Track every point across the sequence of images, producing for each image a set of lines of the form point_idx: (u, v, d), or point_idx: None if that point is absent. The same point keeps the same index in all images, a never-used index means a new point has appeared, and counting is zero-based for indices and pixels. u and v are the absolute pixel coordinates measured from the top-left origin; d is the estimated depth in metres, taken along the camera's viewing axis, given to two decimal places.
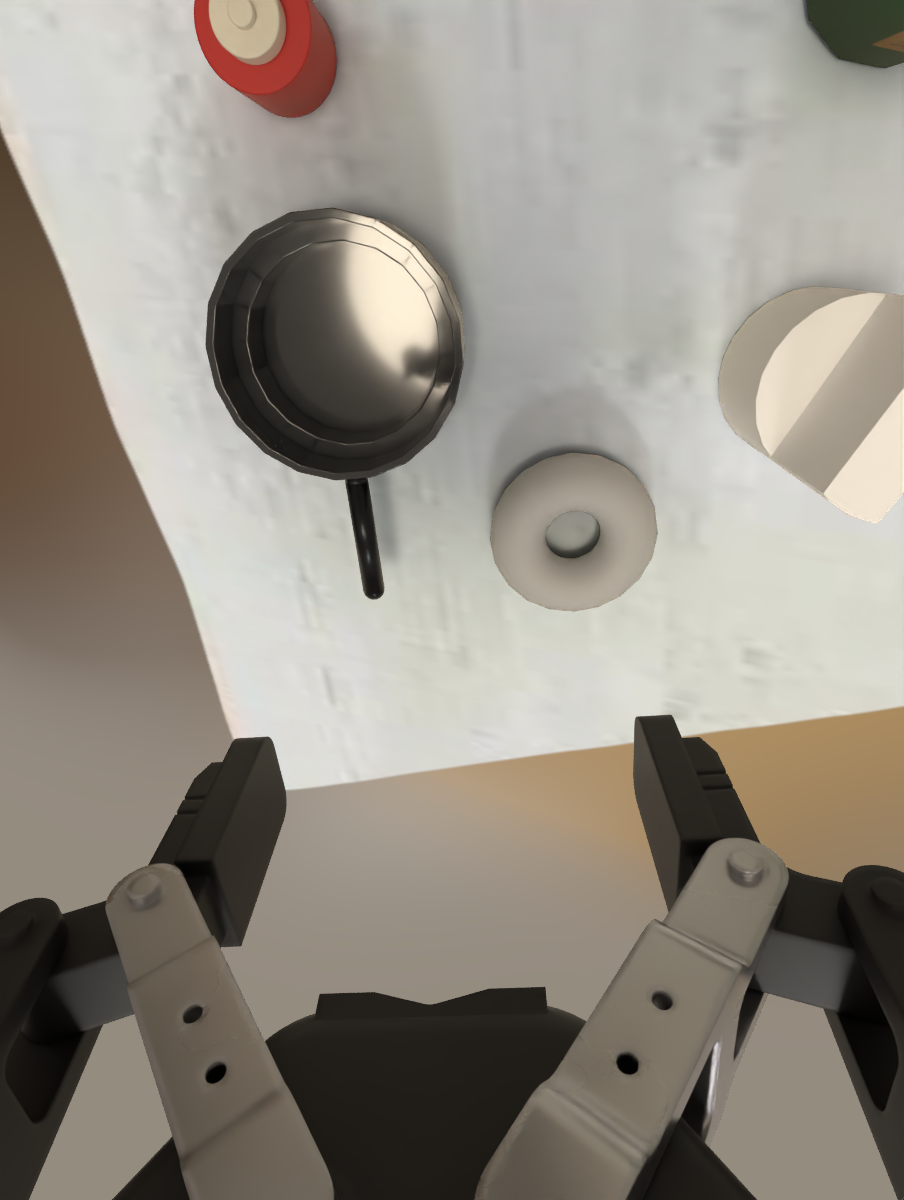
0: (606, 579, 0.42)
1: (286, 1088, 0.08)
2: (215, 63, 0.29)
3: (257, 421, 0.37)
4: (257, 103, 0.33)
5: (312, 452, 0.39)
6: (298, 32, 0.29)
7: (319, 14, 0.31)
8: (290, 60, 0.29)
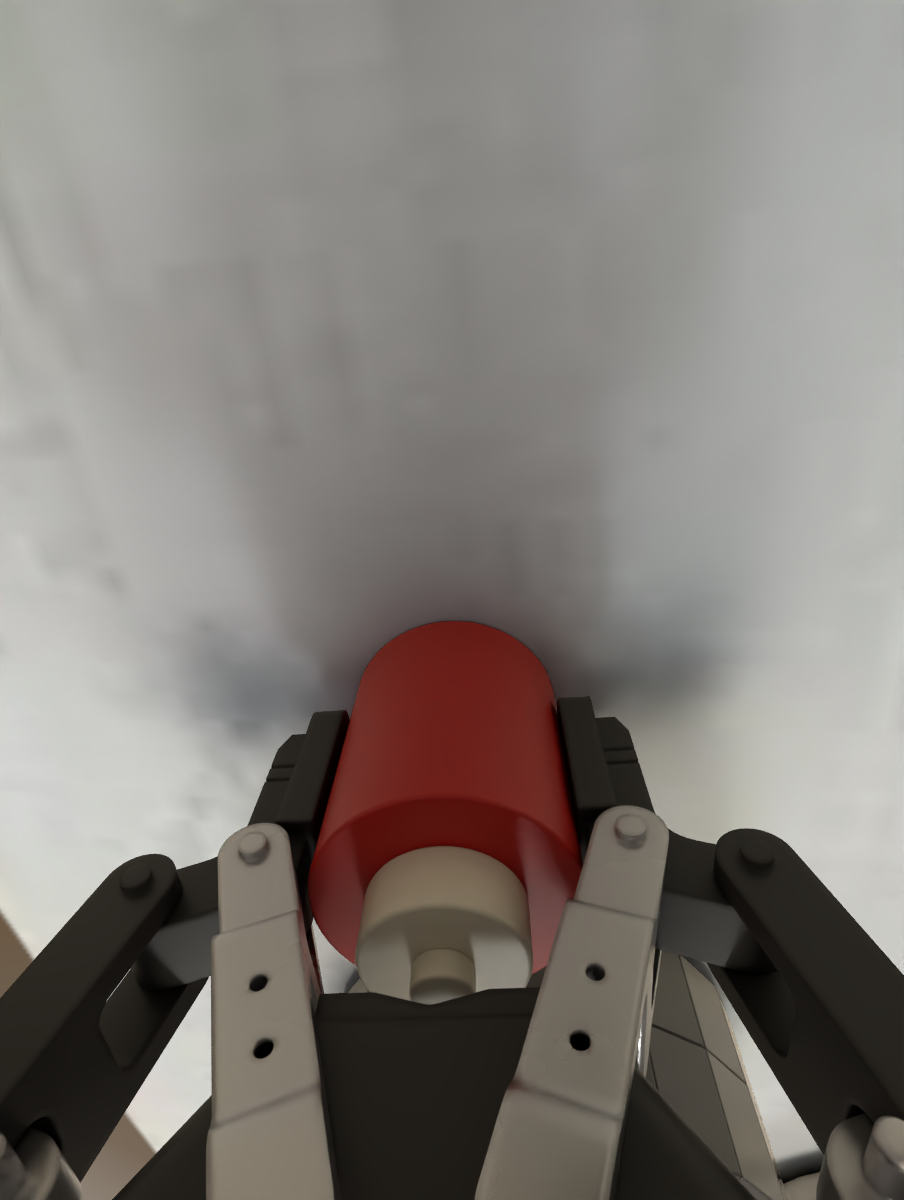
0: None
1: (318, 1087, 0.08)
2: (351, 953, 0.13)
3: None
4: None
5: None
6: (554, 919, 0.12)
7: (557, 737, 0.14)
8: None
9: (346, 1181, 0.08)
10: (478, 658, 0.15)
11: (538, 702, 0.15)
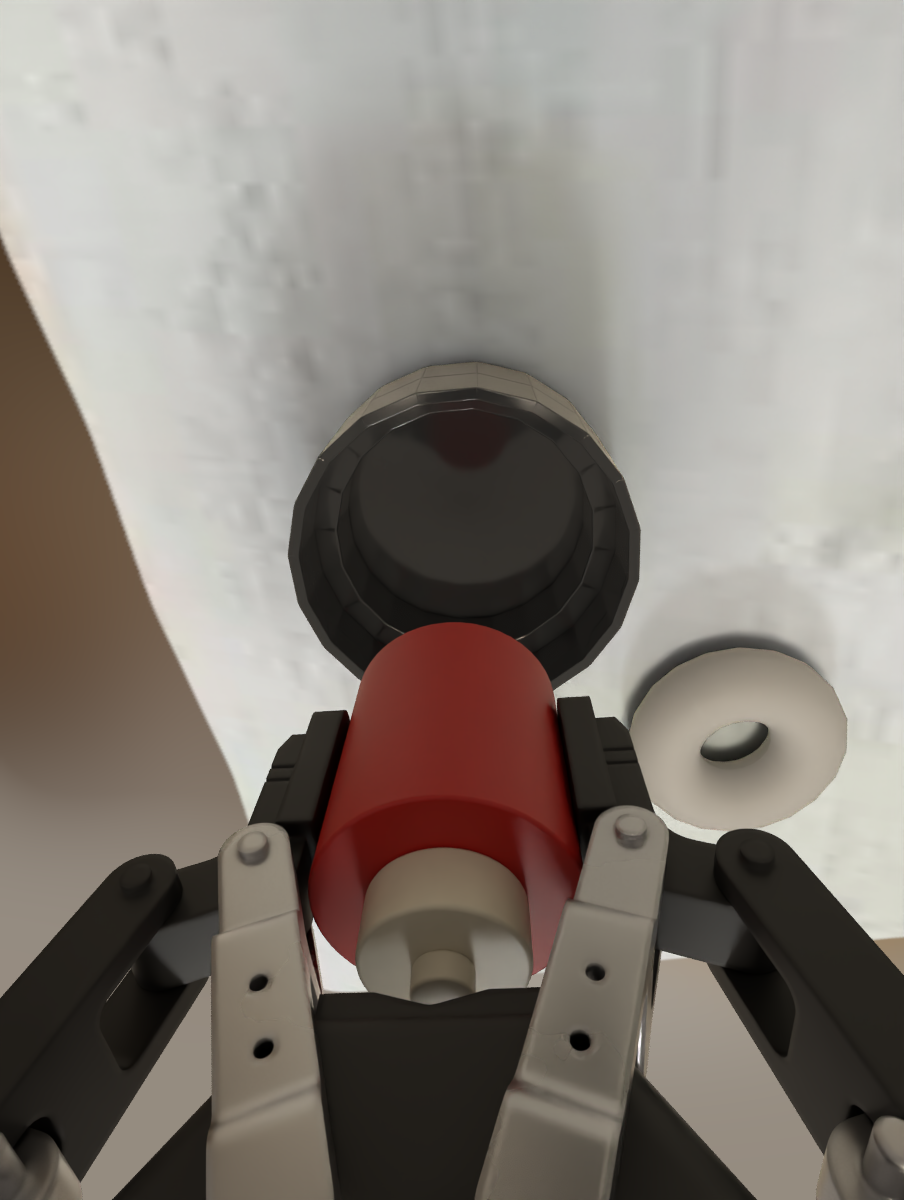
0: (779, 802, 0.33)
1: (318, 1088, 0.08)
2: (351, 954, 0.13)
3: (347, 632, 0.28)
4: None
5: None
6: (554, 920, 0.12)
7: (557, 738, 0.14)
8: None
9: (346, 1181, 0.08)
10: (478, 659, 0.15)
11: (538, 703, 0.15)
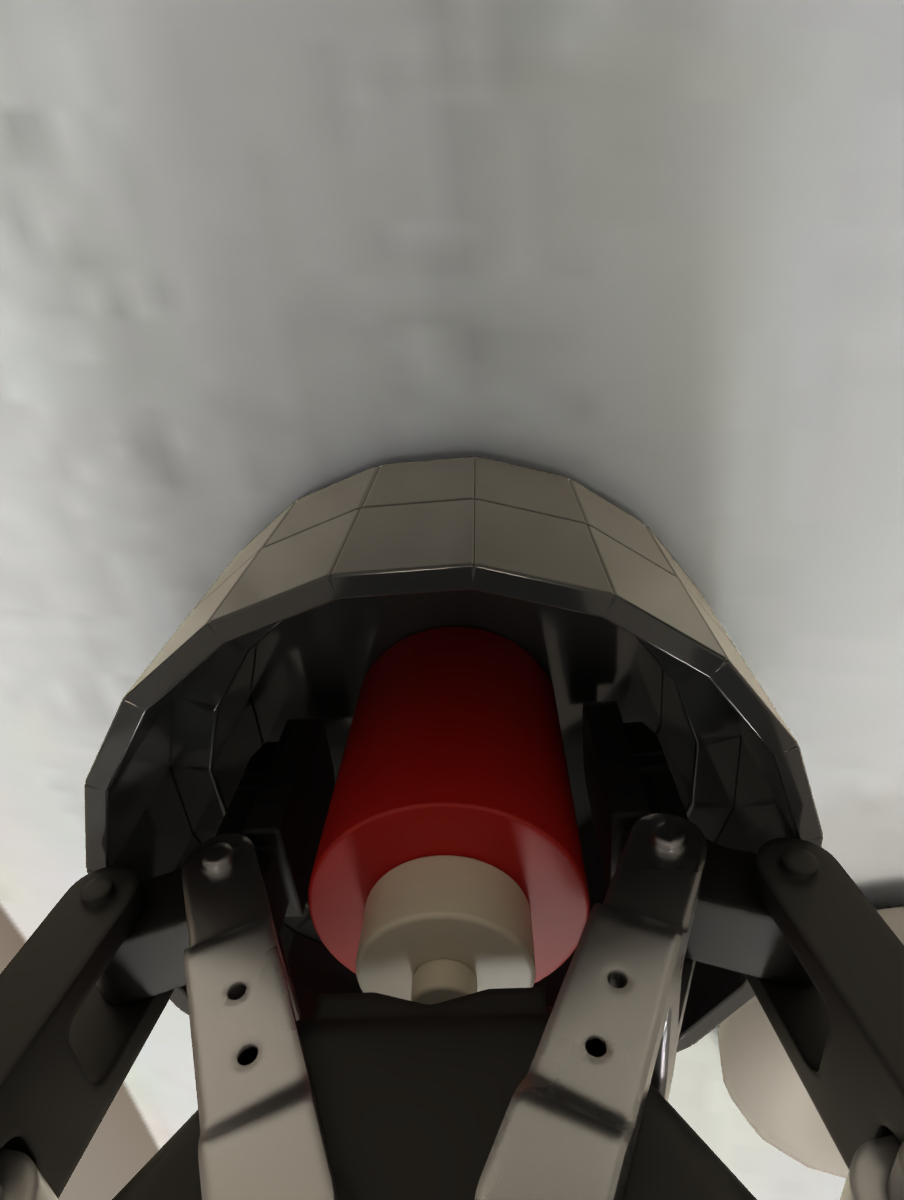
0: None
1: (308, 1087, 0.08)
2: (352, 962, 0.13)
3: None
4: None
5: None
6: (556, 928, 0.12)
7: (559, 744, 0.14)
8: None
9: (341, 1176, 0.08)
10: (479, 664, 0.15)
11: (539, 708, 0.14)
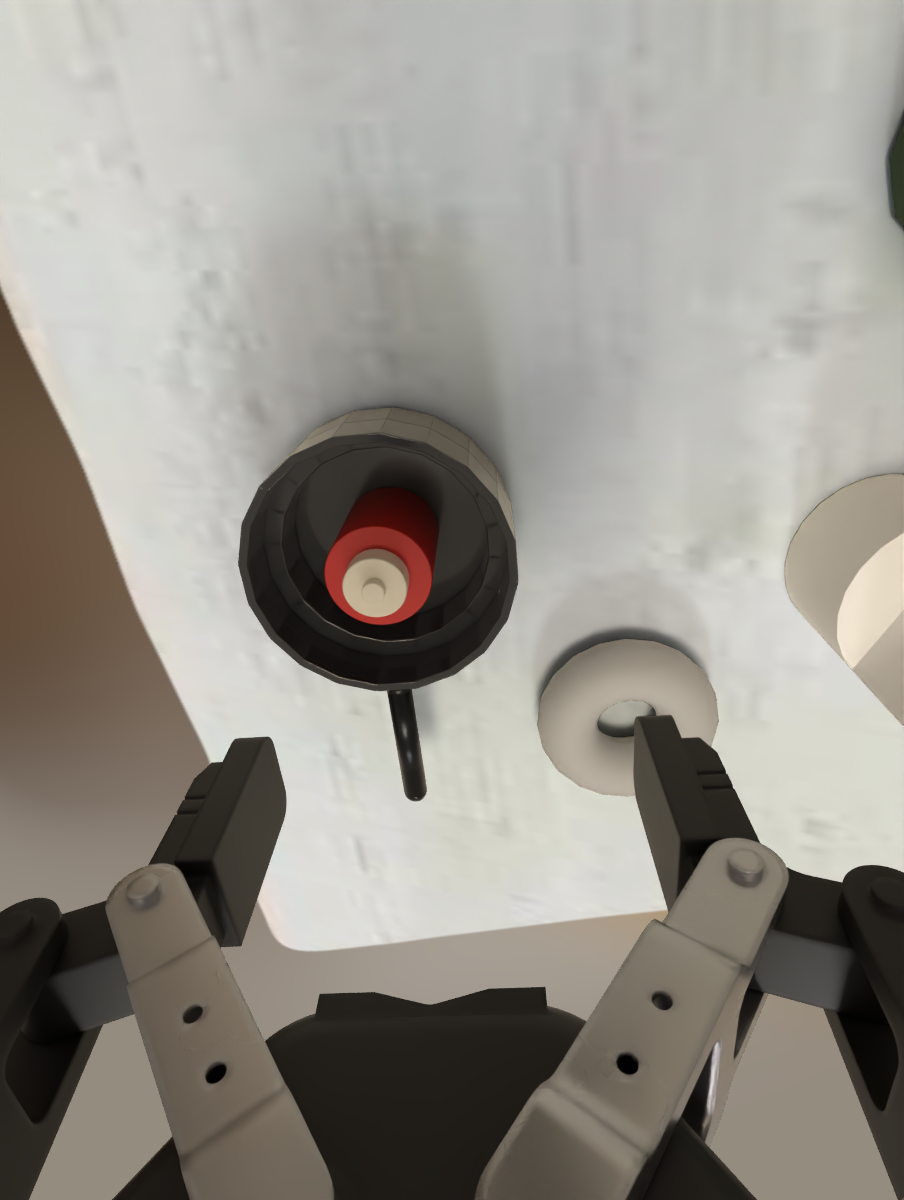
0: None
1: (286, 1088, 0.08)
2: (341, 604, 0.32)
3: (292, 627, 0.34)
4: None
5: (349, 650, 0.36)
6: (420, 584, 0.31)
7: (430, 529, 0.34)
8: (411, 602, 0.32)
9: (329, 1168, 0.08)
10: (397, 497, 0.34)
11: (422, 515, 0.34)
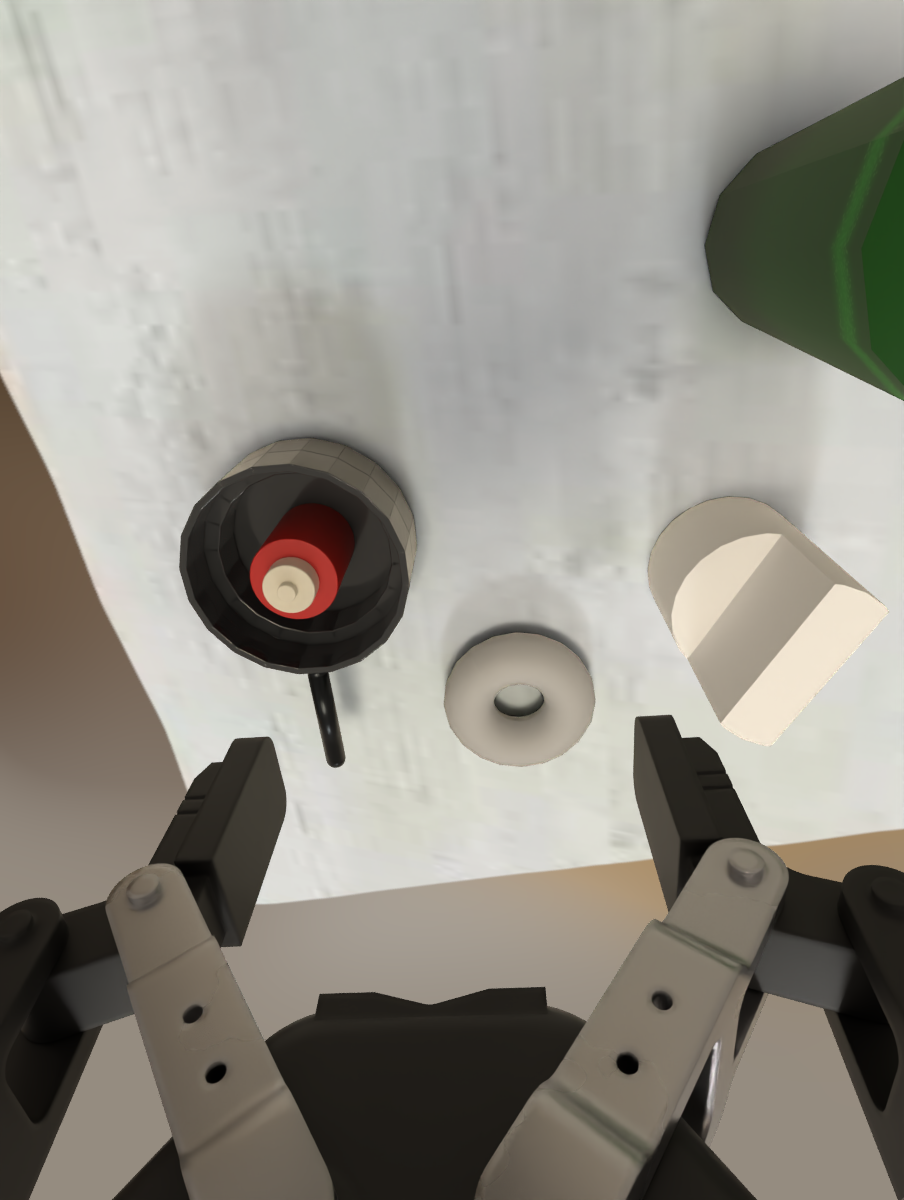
0: (548, 743, 0.46)
1: (286, 1088, 0.08)
2: (265, 601, 0.39)
3: (228, 620, 0.41)
4: None
5: (279, 639, 0.43)
6: (328, 586, 0.38)
7: (342, 540, 0.40)
8: (321, 601, 0.38)
9: (329, 1168, 0.08)
10: (315, 512, 0.41)
11: (336, 528, 0.40)
